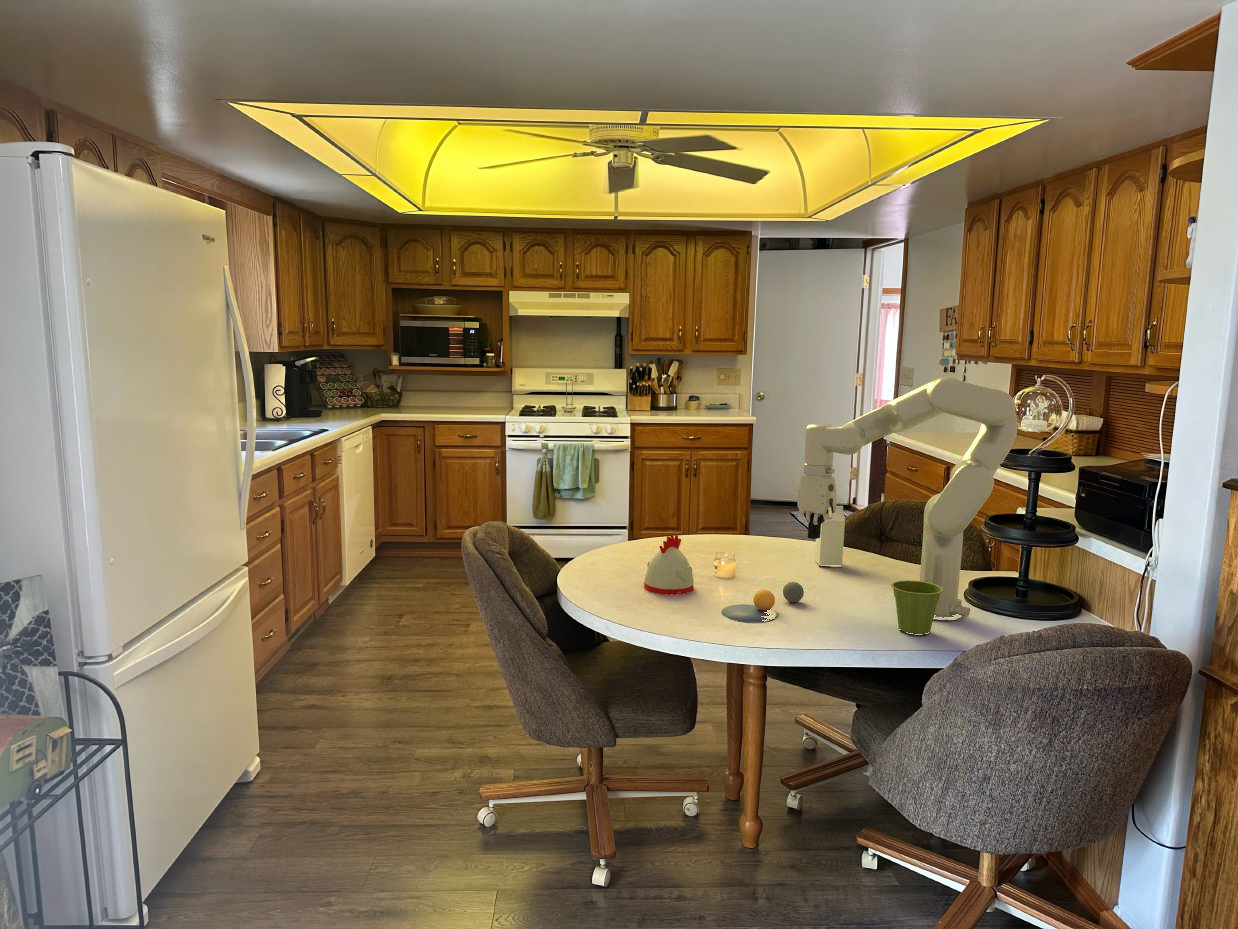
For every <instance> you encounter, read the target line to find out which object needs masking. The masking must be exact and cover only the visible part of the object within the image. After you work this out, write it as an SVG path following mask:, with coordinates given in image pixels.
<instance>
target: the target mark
mask: <svg viewBox="0 0 1238 929" xmlns="http://www.w3.org/2000/svg"><path fill="white" fill-rule="evenodd" d="M764 612H767V611H762V610H759V609H758V608H757V607H756V606H755V604H745V603H744V604H732V605H727V606H726V607H723V608H722V609H721V614H722V615H723V616H724V617H725V616H726V617H725V618H727V617H728V618H727V619H729V618H730V619H729V620H732V619H733V621H736V620H737V622H741V621H742V623H749V622H762V623H765V622H764V621H762V620H766V619H767V618H764V617H761V616H769V615H770V614H769V615H768V614H767V613H764ZM766 614H767V615H766ZM767 620H768V619H767ZM769 620H770V619H769Z"/></svg>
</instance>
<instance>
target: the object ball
mask: <svg viewBox="0 0 1238 929" xmlns="http://www.w3.org/2000/svg"><path fill="white" fill-rule="evenodd" d="M752 601H753V605H755V606H756V607H757V608H758V609H759V610H762V611H767V610H770V609H771V610H772V608H773V607H774V605H775V602H776V598H775V595H774V593H773V592H772V591H771V590H769V589H765V588H764V589H759V590H758V591H756V592H755V594H754V596H753V600H752Z"/></svg>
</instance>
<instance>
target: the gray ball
mask: <svg viewBox="0 0 1238 929" xmlns="http://www.w3.org/2000/svg"><path fill="white" fill-rule="evenodd" d="M782 594H783V597H784V599H785V600H786V601H787V602H789V603H793V602H794V603H798V602H800V601H801V600H802V599H803V597H804V588H803V586H802V585H801V584H800V583H799V582H796V581H790V582H787V583H786V584H785V585H784V586H783V589H782Z"/></svg>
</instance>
